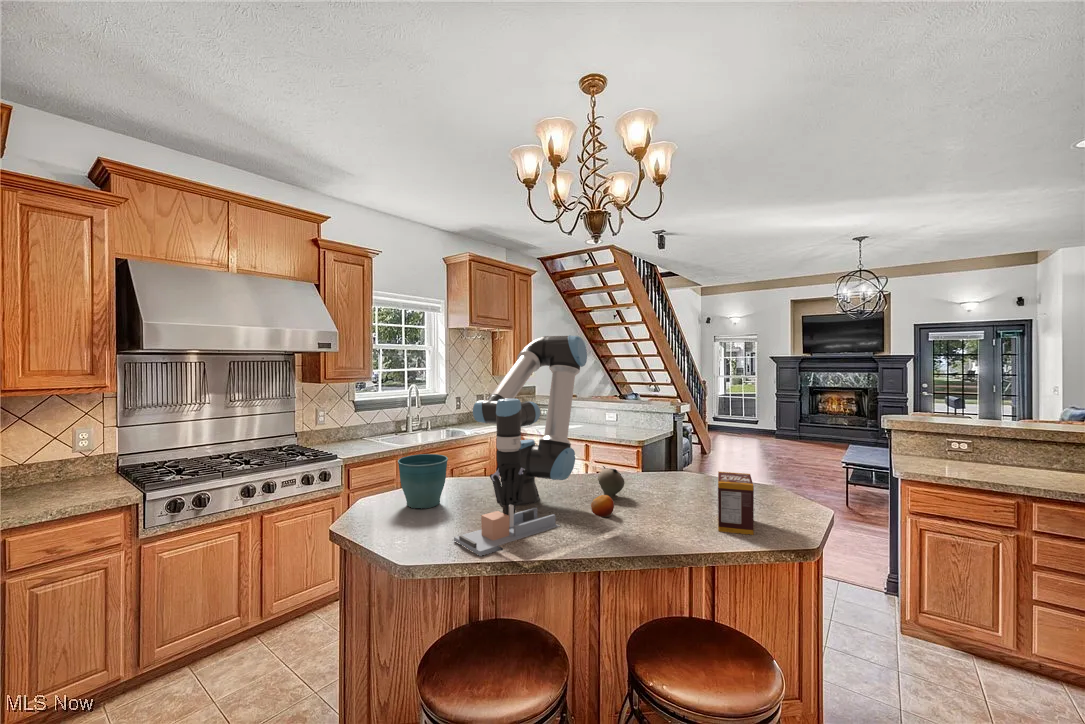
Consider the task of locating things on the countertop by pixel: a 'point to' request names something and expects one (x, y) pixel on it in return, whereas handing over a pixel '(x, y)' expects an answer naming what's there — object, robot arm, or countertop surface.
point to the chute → (523, 527)
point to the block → (495, 525)
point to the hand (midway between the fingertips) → (509, 525)
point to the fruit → (602, 506)
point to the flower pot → (423, 479)
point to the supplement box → (735, 503)
